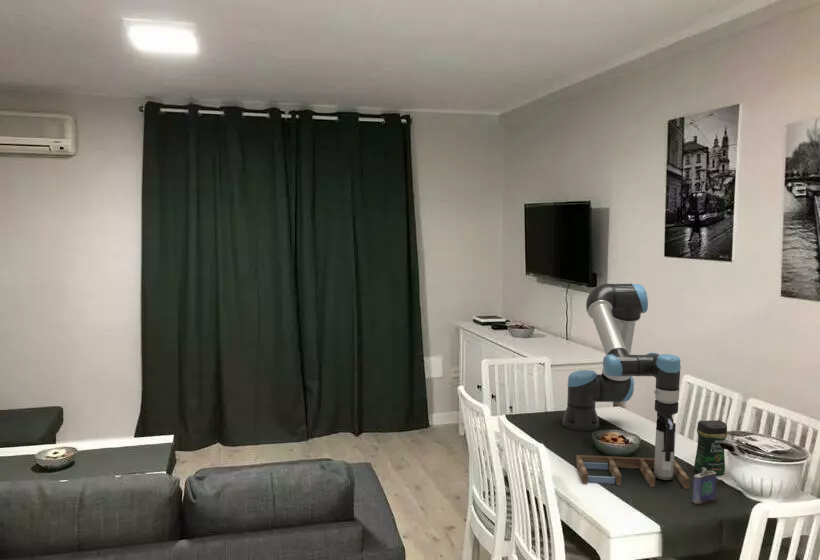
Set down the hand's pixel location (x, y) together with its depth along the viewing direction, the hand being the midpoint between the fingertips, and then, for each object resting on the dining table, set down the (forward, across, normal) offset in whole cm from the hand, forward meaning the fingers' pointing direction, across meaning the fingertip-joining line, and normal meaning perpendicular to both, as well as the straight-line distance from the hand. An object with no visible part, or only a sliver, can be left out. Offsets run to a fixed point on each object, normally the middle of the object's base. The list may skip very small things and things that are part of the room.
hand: (663, 465), depth 230 cm
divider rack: (+5, 0, -11) cm, 12 cm away
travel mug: (+4, 0, 0) cm, 4 cm away
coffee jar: (+5, -8, +18) cm, 20 cm away
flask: (+5, +17, +8) cm, 20 cm away
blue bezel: (+5, 0, -22) cm, 22 cm away
